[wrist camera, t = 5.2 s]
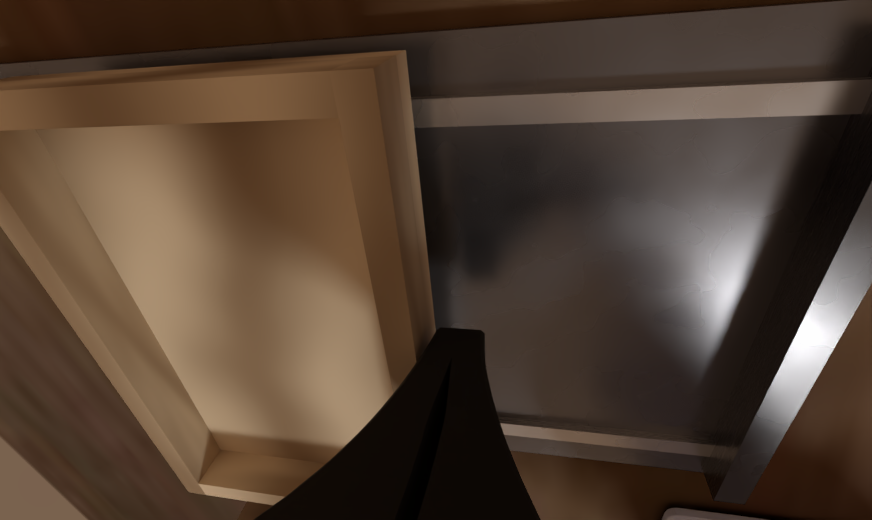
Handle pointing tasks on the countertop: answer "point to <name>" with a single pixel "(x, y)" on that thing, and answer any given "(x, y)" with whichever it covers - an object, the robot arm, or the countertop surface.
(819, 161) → the rail base
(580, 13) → the countertop surface
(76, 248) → the shallow wooden tray
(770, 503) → the countertop surface
